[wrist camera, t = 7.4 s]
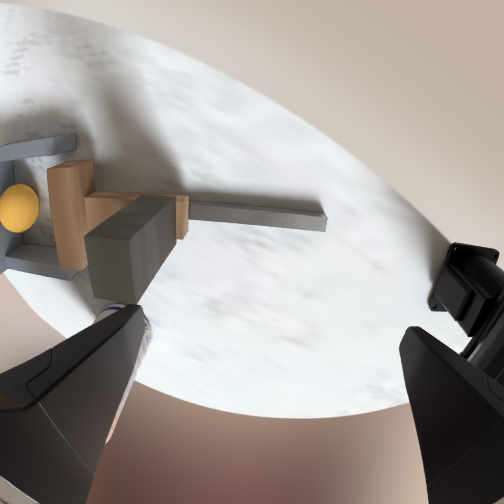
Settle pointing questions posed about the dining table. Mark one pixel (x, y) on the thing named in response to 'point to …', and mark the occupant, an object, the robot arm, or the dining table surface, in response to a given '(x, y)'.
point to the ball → (18, 208)
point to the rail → (257, 215)
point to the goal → (11, 243)
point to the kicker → (112, 231)
